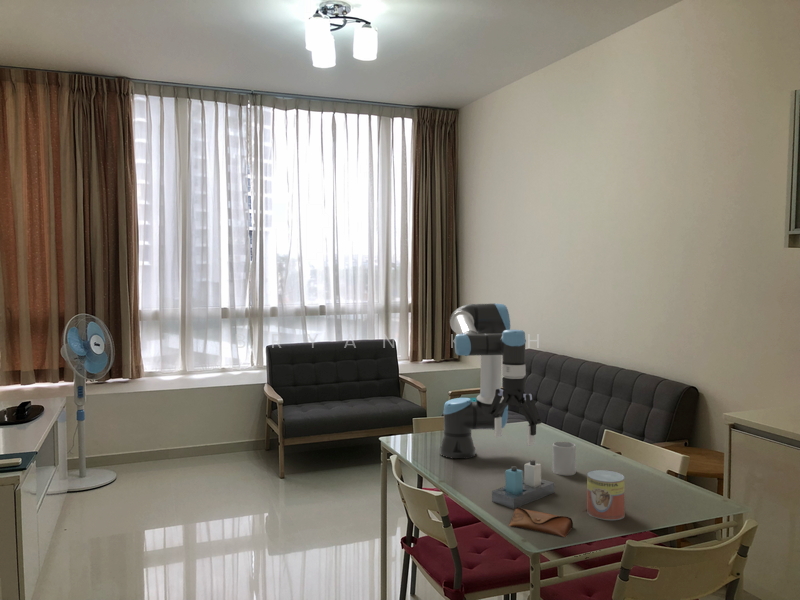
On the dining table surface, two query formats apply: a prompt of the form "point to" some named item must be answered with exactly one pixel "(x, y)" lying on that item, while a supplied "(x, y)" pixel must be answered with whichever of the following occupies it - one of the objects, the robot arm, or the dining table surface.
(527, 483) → the white knobbed block
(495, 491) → the strip
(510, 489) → the plug
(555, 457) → the mug
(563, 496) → the dining table surface
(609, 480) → the canned food
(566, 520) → the sunglasses case
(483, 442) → the dining table surface
